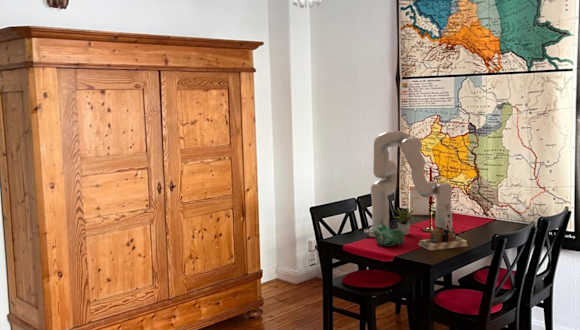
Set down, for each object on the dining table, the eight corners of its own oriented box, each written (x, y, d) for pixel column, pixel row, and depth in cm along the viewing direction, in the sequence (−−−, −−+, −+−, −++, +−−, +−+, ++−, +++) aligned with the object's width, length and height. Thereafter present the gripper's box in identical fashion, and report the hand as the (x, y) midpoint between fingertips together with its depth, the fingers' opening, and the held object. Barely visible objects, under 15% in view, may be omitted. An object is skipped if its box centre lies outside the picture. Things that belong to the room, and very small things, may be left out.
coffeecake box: (431, 212, 396) (431, 184, 393) (432, 215, 389) (433, 185, 386) (408, 212, 397) (408, 184, 394) (409, 215, 390) (409, 185, 387)
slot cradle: (430, 250, 307) (430, 245, 307) (418, 244, 319) (418, 239, 318) (468, 245, 315) (468, 241, 314) (454, 240, 326) (455, 235, 325)
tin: (431, 246, 313) (431, 230, 312) (428, 244, 316) (428, 229, 315) (456, 243, 318) (456, 227, 317) (452, 241, 321) (453, 226, 320)
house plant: (417, 237, 332) (417, 209, 330) (392, 237, 335) (392, 208, 333) (417, 231, 346) (417, 204, 344) (392, 230, 349) (393, 203, 347)
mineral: (365, 245, 320) (366, 226, 318) (381, 239, 331) (381, 221, 330) (395, 250, 308) (396, 232, 306) (411, 244, 320) (411, 226, 318)
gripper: (458, 209, 307) (458, 243, 310) (440, 203, 323) (440, 236, 325) (446, 210, 305) (445, 245, 307) (428, 204, 320) (428, 237, 323)
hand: (442, 240), depth 316 cm, fingers open, 3 cm apart
